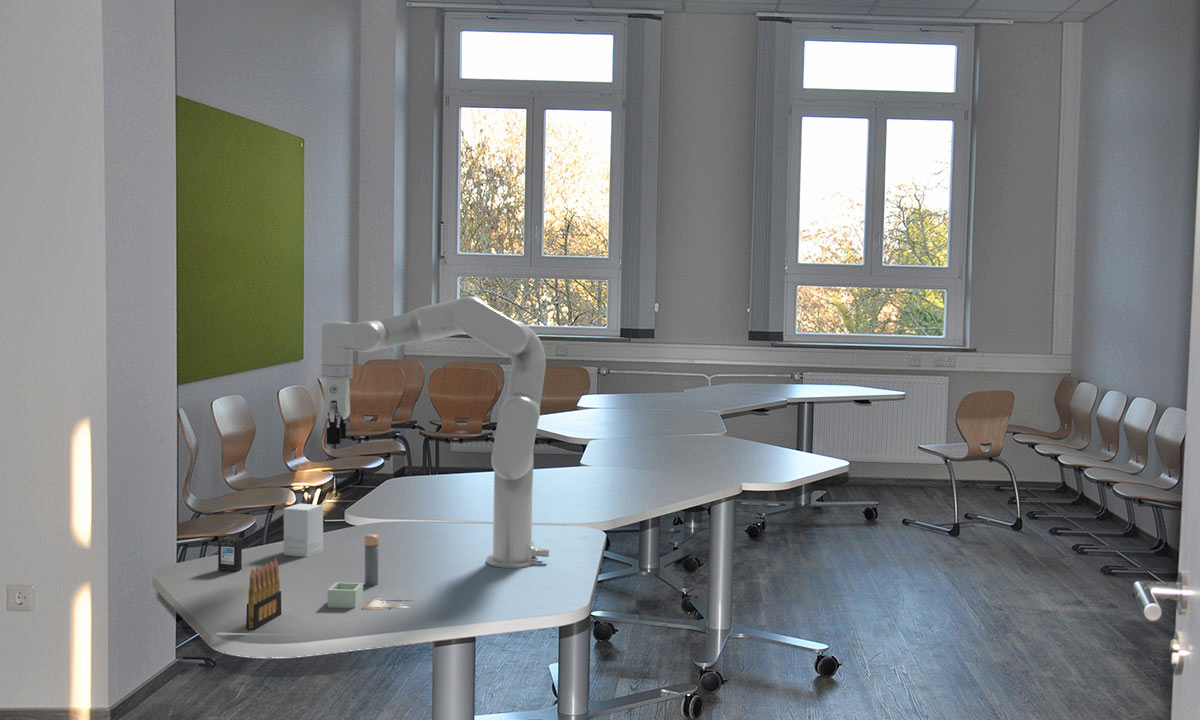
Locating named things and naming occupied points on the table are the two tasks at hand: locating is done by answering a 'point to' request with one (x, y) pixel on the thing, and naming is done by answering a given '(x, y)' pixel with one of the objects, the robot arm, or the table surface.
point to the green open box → (345, 595)
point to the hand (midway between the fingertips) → (336, 441)
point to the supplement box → (303, 529)
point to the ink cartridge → (230, 554)
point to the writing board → (382, 604)
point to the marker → (371, 559)
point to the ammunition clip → (263, 596)
